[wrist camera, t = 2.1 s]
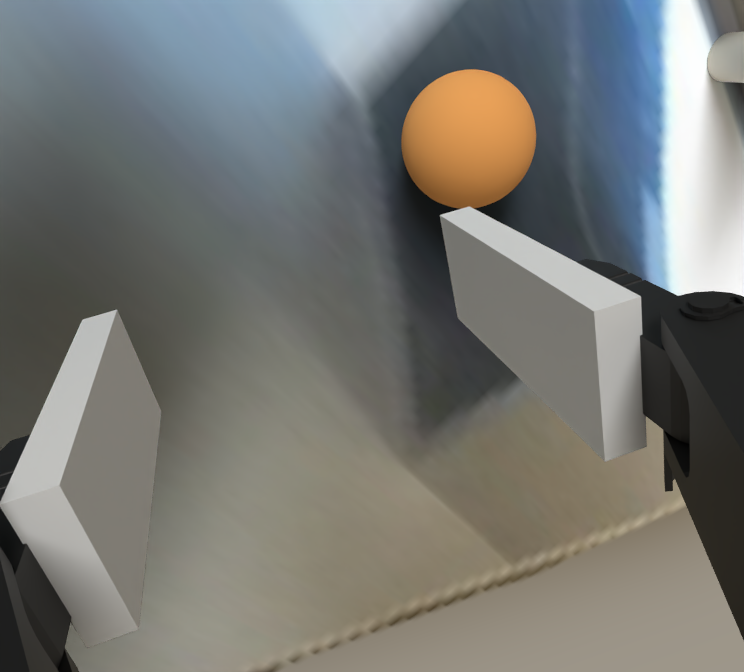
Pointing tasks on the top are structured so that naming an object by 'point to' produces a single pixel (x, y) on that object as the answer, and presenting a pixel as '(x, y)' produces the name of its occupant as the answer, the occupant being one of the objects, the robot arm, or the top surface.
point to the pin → (727, 58)
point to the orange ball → (468, 139)
